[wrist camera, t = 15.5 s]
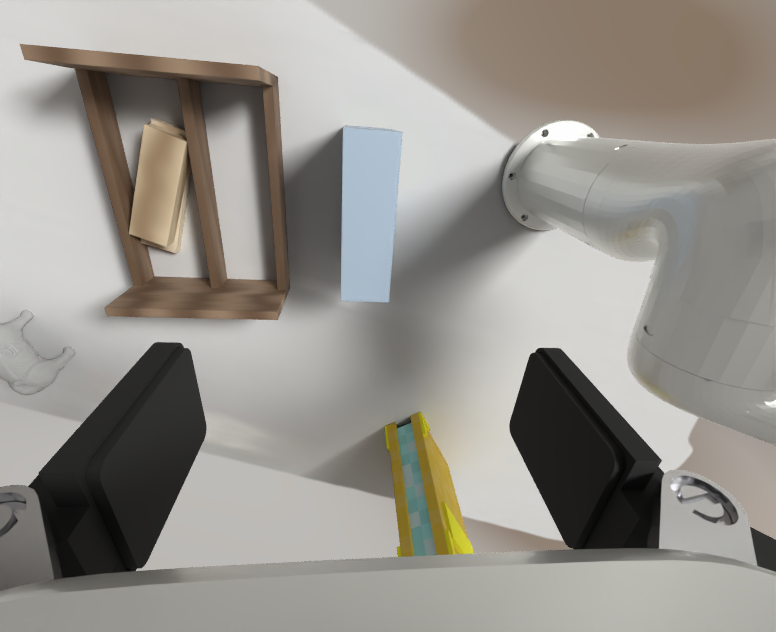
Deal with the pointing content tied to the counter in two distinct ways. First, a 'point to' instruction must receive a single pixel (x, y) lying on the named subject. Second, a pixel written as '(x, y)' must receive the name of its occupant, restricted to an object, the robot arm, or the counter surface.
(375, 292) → the blue-grey rectangular block
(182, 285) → the rack
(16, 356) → the grey animal figure
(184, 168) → the offcut top
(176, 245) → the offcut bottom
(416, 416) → the book
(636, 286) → the counter surface
